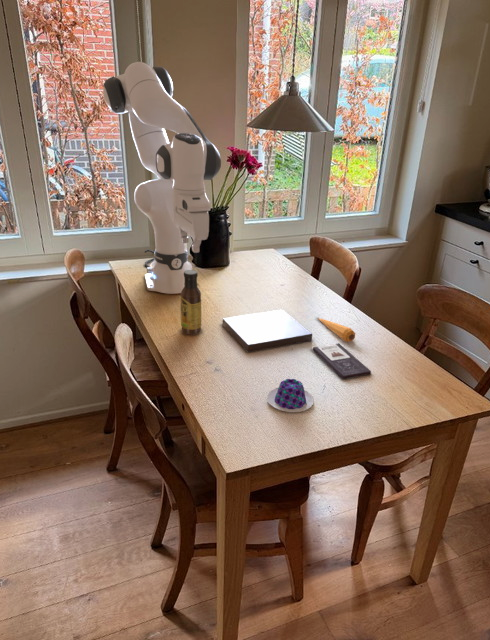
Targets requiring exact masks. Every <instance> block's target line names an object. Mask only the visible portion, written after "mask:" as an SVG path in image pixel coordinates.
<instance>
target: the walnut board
mask: <svg viewBox="0 0 490 640" xmlns="http://www.w3.org/2000/svg"><path fill="white" fill-rule="evenodd" d="M222 327H223V328H224V329H226V331H227V332H228V333H229V334H230V335H231V336H232V337H233V338H234V339H235V340H236V341H237V342H238V344H240V346H241V347H243V349H244V350H245V351H246V352H247V353H252V352H257V351H262V350H267V349H268V350H269V349H274V348H280V347H286V346H290V345H291V346H292V345H296V344H303V343H307V342H311V341H312V339H313V333H312V332H311V331H310V330H308V329H307V328H306V327H305V326H303V325H302V324H301V323H300V322H299V321H298V320H297V319H295V318H294V317H293V316H291V315H290V314H289V313H288V312H286V311H285V310H284V309H276V310H269V311H262V312H255V313H248V314H242V315H235V316H228V317H222Z"/></svg>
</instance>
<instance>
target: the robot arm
mask: <svg viewBox="0 0 490 640" xmlns="http://www.w3.org/2000/svg"><path fill="white" fill-rule="evenodd" d="M102 86H103V87H102V89H103V90H102V92H103V93H102V95H103V98H104V101H105V104H106V105H107V106H108V108H109V109H110V111H111V112H113V113H114V114H118V115H119V114H121V115H122V114H125V113H128V120H129V126H130V130H131V134H132V139H133V142H134V145H135V148H136V150H137V154H138V157H139V160H140V162H141V165H142V166H143V167H144V168H145V169H146V170H148V171H150V172H152V173H153V174H154V175H155V176H157V179H151V180H147V181H145V182H141V183H140V184H138V185H137V186H136V188H135V190H134V194H133V195H134V196H133V197H134V203H135V205H136V207H137V209H138V210H139V211H140V212H141V213H142V214H144V215H145V216H146V217H147V218H148V219H149V221H150V223H151V225H152V229H153V233H154V244H155V245H154V246H155V249H154V251H153V250H151V249H146V250H144V253H146V254H147V252H150V253H152V254H153V258H150V259H148V260H147V261H145V262H144V265H145V267H146V274H144V280H145V285H146V289H147V291H150V292H158V293H161V294H166V295H167V294H169V295H173V294H174V295H176V294H181V292H182V290H183V288H184V287H185V285H184V283H185V278H184V271H185V270H193V265H192V263H191V262H190V261H188V260H189V250H188V247H187V244H189V237H191V238H192V244H191V251H192V252H193V253H194V254H197V253H200V248H201V247H200V246H201V244H202V241H205V240H208V237H209V232H210V214H209V211H211V207H212V206H211V202H210V200H209V198H208V197H207V193H206V184H205V181H212V180H213V179H214V178H215V177H216V176H217V175H218V174H219V172H220V170H221V167H222V158H221V155H220V152H219V150H218V148H217V147H216V146H215V145H214V144H213V143H212V142H211V141H210V140H209V139H208V138H207V137H206V135H205V134H204V132H203V131H202V129H201V127H199V125H198V123H197V122H196V120H195V118H193V117H192V115H191V113H190V112H189V111H188V110H187V109H186V107H184V106H183V105H181V104H180V103H178V102H177V101H176V100H175V99H173V95H174V92H173V91H174V84H173V81H172V78H171V76H170V74H169V72H168V70H167V69H165V68H164V67H163V66H153V67H151V66H150V65H149V64H147V63H146V62H142V61H135V62H133V63H130V64H129V65H128V66H127V67H126V68H125V71H124V73H123V74H119V75H116V76H114V75H113V76H111V77H108V78H107V79H106V80H104V83H103V85H102ZM166 130H168V131H171V132H174V133H176V134H174V135H173V137H172V141H169V138H168V134H167V132H166ZM148 263H150V264H149V265H148Z"/></svg>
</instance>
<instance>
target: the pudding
mask: <svg viewBox="0 0 490 640" xmlns="http://www.w3.org/2000/svg"><path fill="white" fill-rule="evenodd" d="M266 400H267V402H268V404H269V405H270V406H271V407H272V408H275V409H276V410H279V411H283V412H287V413H300V412H304V411H307V410H309V409H310V408H312V407H313V405H314V403H315V400H314V396H313V395H312V394H311V393H310V392H309V391H307V390H305V387H304V384H303V383H302V381H300V380H297V379H295V378H286V379H283V380H281V381H280V383H279V385H278V387H275V388H273V389H271V390H270V391H269V392H268V393H267V396H266Z"/></svg>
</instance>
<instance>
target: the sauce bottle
mask: <svg viewBox="0 0 490 640" xmlns="http://www.w3.org/2000/svg"><path fill="white" fill-rule="evenodd" d="M198 274H199V273H198V271H197V270H195V269H192V270H185V271H184V278H185V283H184V285H185V287H184V288H183V290H182V292H181V293H180V326H181V332H183V333H184V334H185V335H189V336H193V335H194V336H195V335H198V334H200V333H201V332H202V331H201V330H202V292H201V290H200V289H199V287H198V276H199V275H198Z"/></svg>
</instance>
